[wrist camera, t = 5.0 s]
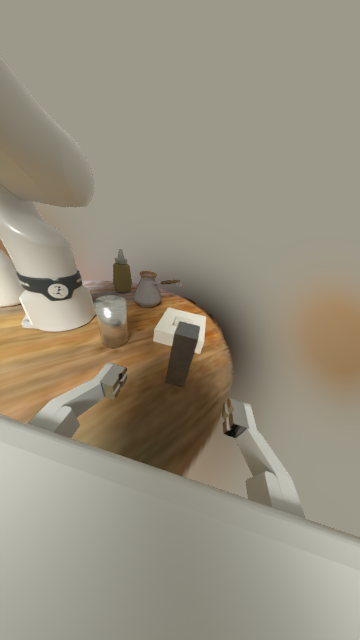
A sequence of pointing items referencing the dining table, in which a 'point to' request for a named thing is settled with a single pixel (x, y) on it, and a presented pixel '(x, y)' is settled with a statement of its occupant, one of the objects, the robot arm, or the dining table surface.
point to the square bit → (182, 353)
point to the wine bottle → (9, 282)
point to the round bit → (112, 320)
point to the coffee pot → (149, 290)
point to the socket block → (170, 323)
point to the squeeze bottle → (121, 274)
